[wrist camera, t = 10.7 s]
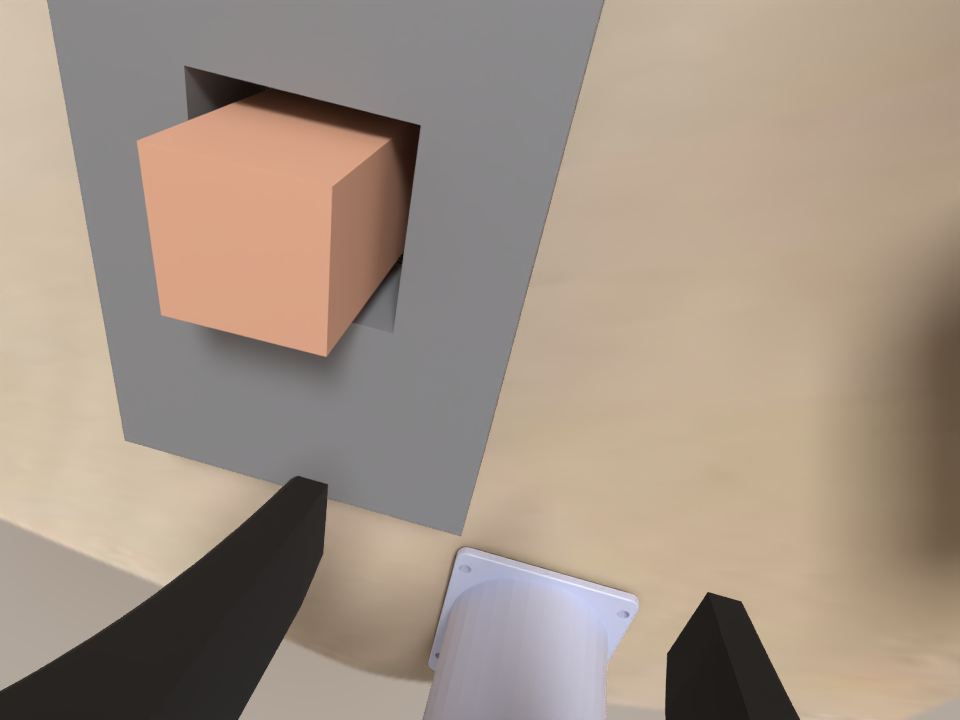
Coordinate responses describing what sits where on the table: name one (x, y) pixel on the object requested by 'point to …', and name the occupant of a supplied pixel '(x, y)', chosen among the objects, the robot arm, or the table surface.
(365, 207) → the peg
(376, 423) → the socket board
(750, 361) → the table surface
